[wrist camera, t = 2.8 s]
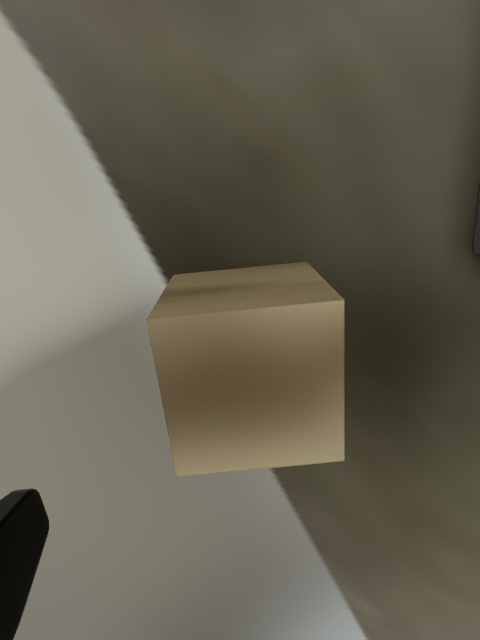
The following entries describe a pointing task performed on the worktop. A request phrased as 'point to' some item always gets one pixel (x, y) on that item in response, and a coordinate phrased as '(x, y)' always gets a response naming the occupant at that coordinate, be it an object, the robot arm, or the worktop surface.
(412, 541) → the worktop surface
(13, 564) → the robot arm
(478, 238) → the tote
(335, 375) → the beech cube
